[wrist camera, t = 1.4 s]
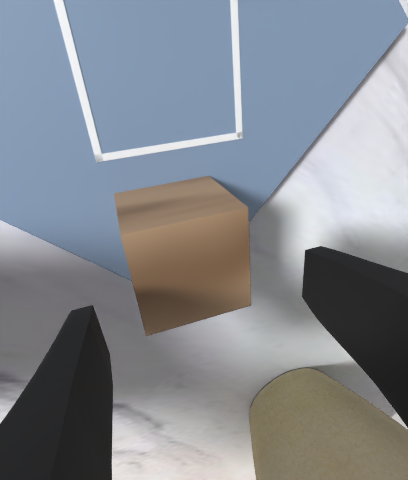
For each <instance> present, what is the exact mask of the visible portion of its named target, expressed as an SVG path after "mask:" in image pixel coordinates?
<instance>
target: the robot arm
mask: <svg viewBox="0 0 408 480" xmlns="http://www.w3.org/2000/svg"><path fill="white" fill-rule="evenodd" d="M302 297H303V299H304V300H305V302H306V303H307V305H308V306H309V308H310V309H311V311H312V312H313V314H314V315H315V316H316V318H317V319H318V320H319V322H320V323H321V324H322V325H323V326H324V327H325V328H326V329H327V331H328V332H329V333H330V334H331V335H332V336H333V337H334V338H335V339H336V341H337V342H338V343H339V344H340V345H341V346H342V347H343V348H344V349H345V350H346V351H347V353H348V354H349V355H350V356H351V357H352V358H353V359H354V360H355V361H356V362H357V363H358V365H359V366H360V367H361V368H362V369H363V370H364V371H365V372H366V373H367V375H368V376H369V377H370V378H371V379H372V380H373V382H374V383H375V384H376V385H377V387H378V388H379V389H380V391H381V392H382V393H383V395H384V396H385V397H386V399H387V400H388V401H389V403H390V404H391V405H392V407H393V408H394V409H395V410H396V412H397V413H398V415H399V416H400V417H401V419H402V420H403V422H404V423H405V424H406V426H407V427H408V273H405V272H402V271H399V270H395V269H392V268H389V267H386V266H383V265H380V264H376V263H373V262H370V261H367V260H364V259H361V258H358V257H355V256H352V255H349V254H346V253H343V252H340V251H337V250H333V249H330V248H326V247H322V246H320V247H316V248H312V249H308V250H305V262H304V276H303V290H302ZM112 409H113V382H112V372H111V362H110V353H109V351H108V348H107V345H106V342H105V339H104V336H103V333H102V330H101V327H100V324H99V322H98V319H97V316H96V313H95V310H94V307H93V305H92V306H88V307H84V308H80V309H76V310H72V311H71V312H70V314H69V315H68V317H67V319H66V321H65V323H64V324H63V326H62V328H61V330H60V332H59V334H58V335H57V337H56V339H55V341H54V342H53V344H52V346H51V348H50V349H49V351H48V353H47V354H46V356H45V358H44V359H43V361H42V363H41V364H40V366H39V368H38V369H37V371H36V372H35V374H34V376H33V377H32V379H31V380H30V382H29V383H28V385H27V386H26V388H25V389H24V391H23V392H22V394H21V395H20V397H19V398H18V400H17V401H16V403H15V404H14V406H13V407H12V408H11V410H10V411H9V413H8V414H7V415H6V417H5V418H4V420H3V421H2V422H1V424H0V480H112Z"/></svg>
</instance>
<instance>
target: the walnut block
mask: <svg viewBox="0 0 408 480" xmlns="http://www.w3.org/2000/svg"><path fill="white" fill-rule="evenodd" d="M114 198H115V204H116V210H117V217H118V223H119V229H120V235H121V239H122V243H123V247H124V251H125V255H126V259H127V263H128V267H129V271H130V275H131V279H132V283H133V286H134V290H135V294H136V298H137V302H138V306H139V310H140V314H141V318H142V322H143V326H144V330H145V334H146V336H149V335H152V334H156V333H159V332H162V331H166V330H169V329H173V328H176V327H179V326H183V325H186V324H190V323H193V322H196V321H200V320H203V319H207V318H210V317H213V316H217V315H220V314H223V313H227V312H230V311H234V310H237V309H240V308H244V307H247V306H251V285H250V252H249V219H248V207H247V206H246V205H245V204H243V203H242V202H241V201H240V200H238V199H237V198H236V197H235V196H233V195H232V194H231V193H230V192H228V191H227V190H226V189H225V188H224V187H222V186H221V185H220V184H219V183H217V182H216V181H215V180H214V179H212V178H211V177H210V176H204V177H199V178H194V179H188V180H183V181H178V182H172V183H167V184H162V185H156V186H151V187H146V188H140V189H135V190H130V191H124V192H119V193H114Z"/></svg>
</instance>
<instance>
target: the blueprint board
mask: <svg viewBox="0 0 408 480" xmlns="http://www.w3.org/2000/svg"><path fill="white" fill-rule="evenodd" d="M407 24H408V18H407V16H406V14H405V12H404V10H403V8H402V6H401V4H400V2H399V0H0V220H2V221H4V222H6V223H8V224H10V225H12V226H15V227H17V228H19V229H21V230H23V231H25V232H28V233H30V234H32V235H34V236H36V237H38V238H40V239H43V240H45V241H47V242H49V243H51V244H53V245H56V246H58V247H60V248H62V249H64V250H66V251H69V252H71V253H73V254H75V255H77V256H79V257H81V258H84V259H86V260H88V261H90V262H92V263H94V264H97V265H99V266H101V267H103V268H105V269H107V270H110V271H112V272H114V273H116V274H118V275H120V276H122V277H125V278H127V279H129V280H131V281H132V279H131V275H130V271H129V267H128V263H127V259H126V255H125V251H124V247H123V243H122V239H121V235H120V229H119V223H118V217H117V210H116V204H115V198H114V193H119V192H124V191H130V190H135V189H140V188H146V187H151V186H156V185H162V184H167V183H172V182H178V181H183V180H188V179H194V178H199V177H204V176H210V177H211V178H212V179H214V180H215V181H216V182H217V183H219V184H220V185H221V186H222V187H224V188H225V189H226V190H227V191H228V192H230V193H231V194H232V195H233V196H235V197H236V198H237V199H238V200H240V201H241V202H242V203H243V204H245V205H246V206H247V207H248V219H249V221H250V220H251V219H252V218H253V216H254V215H255V214H256V213H257V211H258V210H259V209H260V208H261V206H262V205H263V204H264V203H265V201H266V200H267V199H268V198H269V196H270V195H271V194H272V193H273V191H274V190H275V189H276V188H277V186H278V185H279V184H280V183H281V181H282V180H283V179H284V178H285V176H286V175H287V174H288V173H289V171H290V170H291V169H292V168H293V166H294V165H295V164H296V163H297V161H298V160H299V159H300V158H301V156H302V155H303V154H304V153H305V151H306V150H307V149H308V148H309V146H310V145H311V144H312V143H313V141H314V140H315V139H316V138H317V136H318V135H319V134H320V133H321V131H322V130H323V129H324V128H325V126H326V125H327V124H328V123H329V121H330V120H331V119H332V118H333V116H334V115H335V114H336V113H337V111H338V110H339V109H340V108H341V106H342V105H343V104H344V103H345V101H346V100H347V99H348V98H349V96H350V95H351V94H352V93H353V91H354V90H355V89H356V88H357V86H358V85H359V84H360V83H361V81H362V80H363V79H364V78H365V76H366V75H367V74H368V73H369V71H370V70H371V69H372V68H373V66H374V65H375V64H376V63H377V61H378V60H379V59H380V58H381V56H382V55H383V54H384V53H385V51H386V50H387V49H388V48H389V46H390V45H391V44H392V43H393V41H394V40H395V39H396V38H397V36H398V35H399V34H400V33H401V31H402V30H403V29H404V28H405V26H406V25H407Z"/></svg>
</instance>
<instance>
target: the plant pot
mask: <svg viewBox="0 0 408 480" xmlns="http://www.w3.org/2000/svg"><path fill="white" fill-rule="evenodd" d="M249 420H250V431H251V441H252V450H253V459H254V467H255V474H256V480H408V429H406V428H405V427H403V426H402V425H401V424H399V423H398V422H397V421H395V420H394V419H392V418H391V417H389V416H388V415H386V414H385V413H384V412H382V411H381V410H379V409H378V408H376V407H375V406H373V405H372V404H370V403H369V402H368V401H366V400H365V399H363V398H361V397H360V396H358V395H357V394H355V393H354V392H352V391H351V390H349V389H348V388H346V387H344V386H343V385H341V384H340V383H338V382H336V381H335V380H333V379H331V378H330V377H328V376H327V375H325V374H323V373H321V372H320V371H318V370H315V369H311V368H301V369H295V370H292V371H289V372H287V373H285V374H282V375H280V376H279V377H277V378H275V379H274V380H273V381H271V382H270V383H269V384H267V385H266V386H265V387H264V388H263V389H262V390H261V391H260V392H259V394H258V395H257V396H256V398H255V399H254V401H253V403H252V405H251V408H250V413H249Z"/></svg>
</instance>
